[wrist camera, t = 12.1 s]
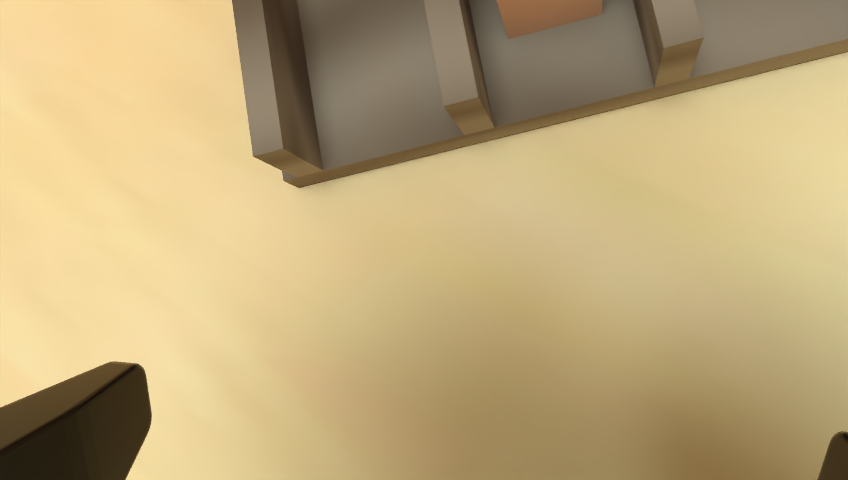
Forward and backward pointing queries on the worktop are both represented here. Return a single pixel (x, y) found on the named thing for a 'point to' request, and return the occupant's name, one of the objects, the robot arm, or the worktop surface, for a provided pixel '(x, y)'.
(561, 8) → the clay bar
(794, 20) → the rack
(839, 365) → the worktop surface
